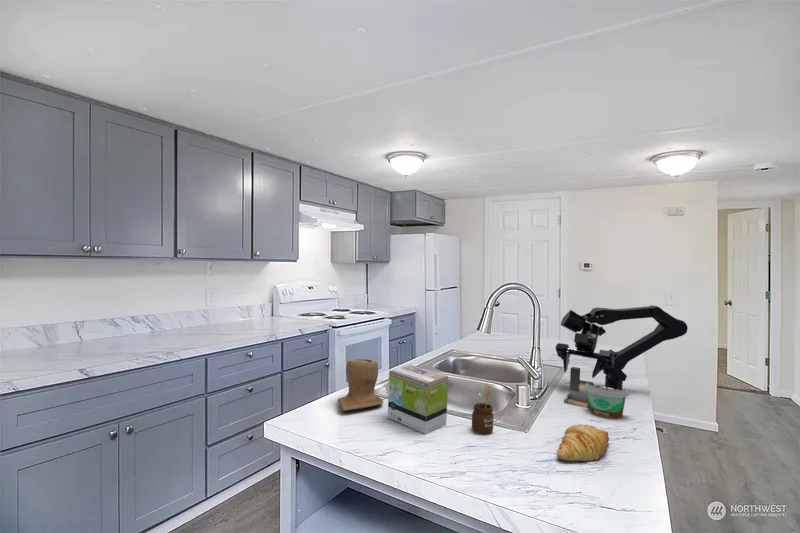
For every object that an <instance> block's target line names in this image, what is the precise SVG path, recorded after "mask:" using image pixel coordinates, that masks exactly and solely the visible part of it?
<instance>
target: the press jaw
mask: <svg viewBox="0 0 800 533" xmlns="http://www.w3.org/2000/svg"><path fill="white" fill-rule="evenodd" d="M580 380H581V367H576V366H572V367H570V377H569V392H570V399H573V400H578V401H583V402H588V396H587V391H583V390H579V385H580Z"/></svg>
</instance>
